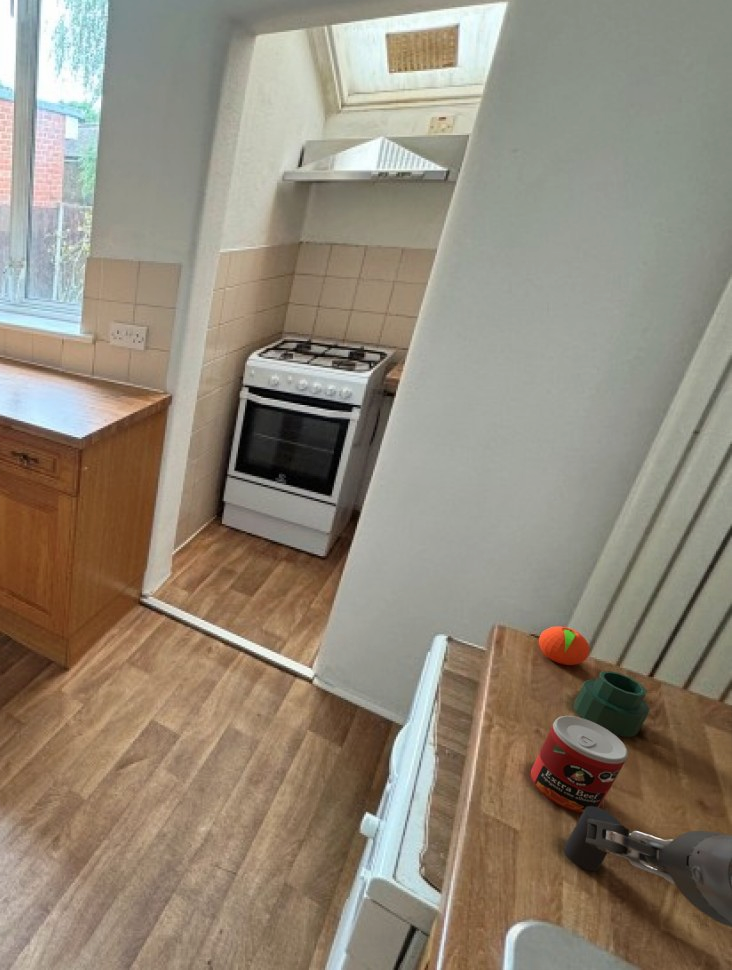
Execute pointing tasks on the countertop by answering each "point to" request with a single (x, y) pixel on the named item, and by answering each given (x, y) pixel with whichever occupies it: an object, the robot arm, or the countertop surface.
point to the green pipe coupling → (613, 703)
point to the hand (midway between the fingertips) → (654, 861)
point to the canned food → (578, 763)
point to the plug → (577, 844)
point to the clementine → (564, 645)
